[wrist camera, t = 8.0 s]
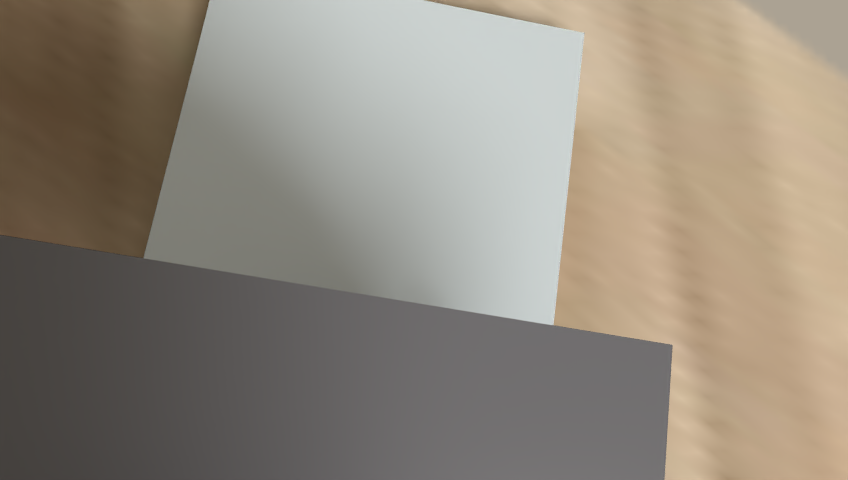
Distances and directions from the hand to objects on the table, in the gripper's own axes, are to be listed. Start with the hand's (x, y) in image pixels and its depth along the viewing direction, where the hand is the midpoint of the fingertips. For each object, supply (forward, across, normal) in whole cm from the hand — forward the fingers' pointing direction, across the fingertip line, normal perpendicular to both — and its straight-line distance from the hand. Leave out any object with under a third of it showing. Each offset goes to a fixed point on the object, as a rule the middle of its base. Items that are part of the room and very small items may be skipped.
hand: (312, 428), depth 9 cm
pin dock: (+8, 0, +6) cm, 10 cm away
